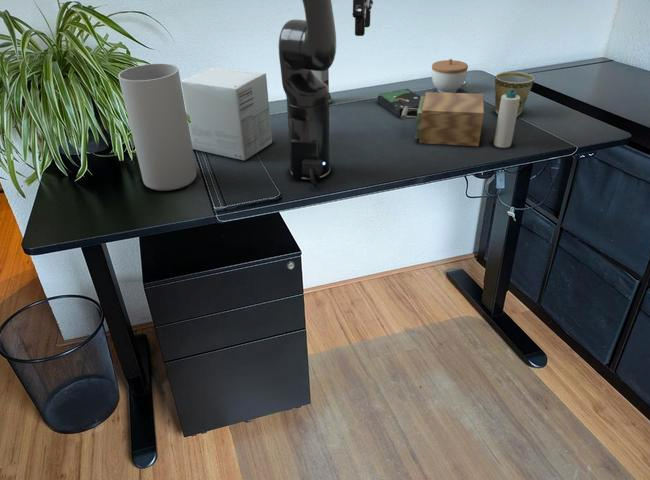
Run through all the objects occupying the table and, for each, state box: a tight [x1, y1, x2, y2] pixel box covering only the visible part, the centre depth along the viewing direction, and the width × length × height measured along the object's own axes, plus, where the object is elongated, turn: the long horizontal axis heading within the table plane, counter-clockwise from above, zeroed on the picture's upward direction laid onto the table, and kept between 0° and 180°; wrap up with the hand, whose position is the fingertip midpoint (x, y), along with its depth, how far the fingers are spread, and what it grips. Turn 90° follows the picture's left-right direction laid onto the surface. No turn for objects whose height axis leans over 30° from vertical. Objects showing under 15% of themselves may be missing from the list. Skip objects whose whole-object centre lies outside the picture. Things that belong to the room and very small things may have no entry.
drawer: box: [400, 95, 425, 140], centre depth 142 cm, size 18×13×7 cm
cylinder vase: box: [117, 63, 197, 192], centre depth 122 cm, size 12×12×25 cm
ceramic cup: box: [494, 71, 535, 117], centre depth 151 cm, size 13×10×10 cm
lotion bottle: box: [493, 89, 520, 149], centre depth 132 cm, size 4×4×14 cm
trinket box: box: [431, 58, 469, 93], centre depth 169 cm, size 11×11×9 cm
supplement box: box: [181, 67, 273, 161], centre depth 138 cm, size 17×13×18 cm
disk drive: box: [377, 88, 421, 118], centre depth 160 cm, size 10×3×15 cm
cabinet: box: [418, 91, 485, 147], centre depth 141 cm, size 15×14×9 cm
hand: (362, 31), depth 130 cm, fingers open, 8 cm apart
